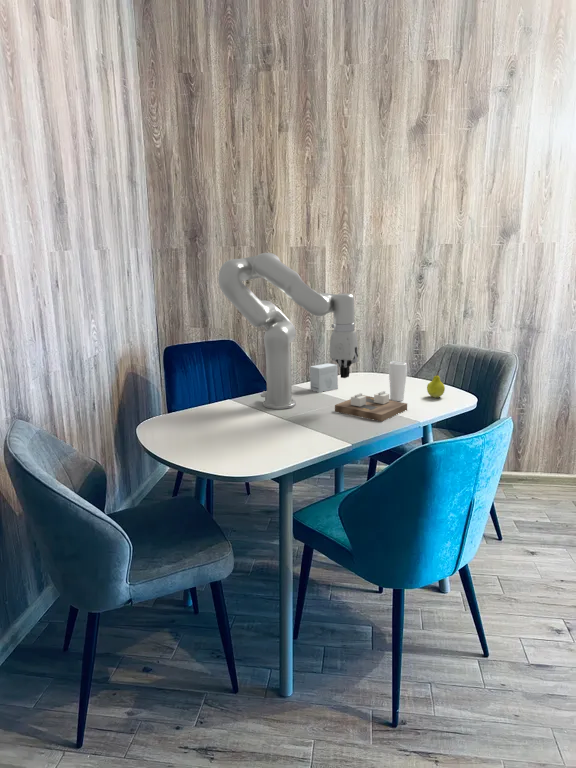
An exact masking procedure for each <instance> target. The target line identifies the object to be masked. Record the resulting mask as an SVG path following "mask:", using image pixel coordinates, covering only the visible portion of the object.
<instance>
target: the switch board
mask: <svg viewBox="0 0 576 768" xmlns="http://www.w3.org/2000/svg"><path fill="white" fill-rule="evenodd" d="M362 396H366V404H365V405H363V406H360V407H359V406H354V405H351V398H349V399H347V400H345V401H342V402H340V403H337V404H334V412H336V413H338V414H339V413H340V414H345V415H350V416H354V417H359V418H362V417H363V419H367V418H368V420H372V419H374V420H373V421H376V420H378V421H377V422H381V421H382V422H384V421H386V420H388V418H389V419H390V417H391V418H393V417H395V416H397V415H399V414H398V413H400V414H401V412H402V413H403V411H404V412H405V410H406V411H408V403H407V402H402V401H392V400H391V399H389V402H387V403H385V404H380V403H375V402H374V397H373V396H368V395H365V394H364V395H363V394H362ZM396 414H397V415H396ZM394 415H395V416H394ZM392 416H393V417H392Z"/></svg>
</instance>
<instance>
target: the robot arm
mask: <svg viewBox="0 0 576 768" xmlns="http://www.w3.org/2000/svg"><path fill="white" fill-rule="evenodd" d="M260 278H262V279H263V280H265V281H266V282H268V283H270V284H271V285H273V286H274V287H275V288H277V289H279V290H280V292H283V293H284V294H285V295H286V296H287V297H288V298H290V299H291V300H292V301H293V302H294V303H295V304H296V305H298V306H299V307H301V308H302V309H304V310H305V311H307V312H308V313H310V314H312V315H314V316H316V317H324V316H326V315H327V314H331V313H333V324H331V328H332V329H333V331H332V332H331V335H330V340H329V357H330V358H331V360H332V361H334V362H336V364H337V365H338V367H339V371H340V372H339V373H340V378H341V379H346V378H349V376H350V367H351V366H352V364H356V363H358V362H359V361H358V357H359V343H358V336H357V332H356V331H355V296H354V295H353V294H352V293H337V294H334V293H329V292H327V293H326V292H324V293H323V292H322V293H319V292H317V291H316V290H315V289H313V288H311V287H310V286H308V284H307V283H305V282H304V281H303V279H302V277H301V276H300V275H299V273H298V272H297V271H295V270H294V269H292V268H291V267H289V266H287V265H286V264H284V263H283V262H282V261H281V260H280V257H279V256H278V255H276V254H275V253H272V252H263V253H260V254H257V255H254V256H249V257H242V258H232V259H228V260H226V261H225V262H224V263H222V265H221V267H220V270H219V272H218V278H217V279H218V285H219V288H220V290H221V292H222V293H223V295H224V296H225V298H226V299H227V300H228V301H229V302H230V303H231V304H232V305H233V306H234V307H235V309H236V310H237V311H238V312H239V313H240V314H241V315H242V316H243V317H244V318H245V319H246V321H248V323H249V324H251V326H253V327H254V328H264V329H265V330H266V331H265V332H264V335H263V343H264V351H265V366H266V367H265V368H266V370H265V372H266V391H265V390H263V391H262V392H261V394H260V397H262V398H264V400H263V402H262V406H264V408H267V409H273V410H285V409H291V408H293V407H295V406H296V400H295V399H292V396H293V395H292V394H293V393H292V355H291V354H292V353H291V343H292V342H293V341H294V340H295V339H296V335H297V330H296V327H295V325H294V324H293V323H292V321H291V320H290V319H289V318H288V317H287V316H286V315H285V314H284V313H283V312H282V310H280V308H278V307H277V305H276V304H274V303H273V302H272V301H269V300H265V299H264V300H263V299H262V300H261V299H260V298H259V297H258V296H257V295H255V294H254V292H253V291H252V290H251V289H250V288H249V287H248V286H246V285H245V284H244V282H245V281H249V280H254V279H260Z"/></svg>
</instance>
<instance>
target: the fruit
mask: <svg viewBox="0 0 576 768" xmlns="http://www.w3.org/2000/svg"><path fill="white" fill-rule="evenodd" d="M441 370H442V368H440V369H438V370H437V373H436V375H434V376H433V378H432V380H431V381H430V382H429V383H428V384H427V385H426V390H427V391H426V392H427V393H428V395H429V396H431V397H432V398H436V399H437V398H440V397H442V395H444V393H445V391H446V390H445V389H446V387H445V385H444V383H443V381H441V377H440V376H439V375H438V374H439V372H440V371H441Z"/></svg>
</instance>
